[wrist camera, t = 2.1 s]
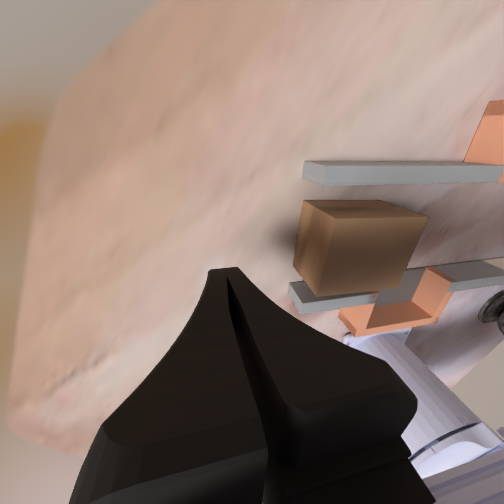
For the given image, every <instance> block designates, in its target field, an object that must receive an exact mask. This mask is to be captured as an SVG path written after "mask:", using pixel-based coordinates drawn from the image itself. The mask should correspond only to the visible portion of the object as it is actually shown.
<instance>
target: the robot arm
mask: <svg viewBox="0 0 504 504" xmlns="http://www.w3.org/2000/svg"><path fill="white" fill-rule="evenodd" d="M411 329H412V327H410V328H405V329H399V330H394V331H388V332H383V333H377V334H372V335H367V336H361V337H356V338H355V337H354V336H353V335H352V334H347V335H346V336H345V337H344V339H343V342H342V343H341V342H339V341H337V340H335V339H333V338H331V337H329V336H327V335H325V334H323V333H321V332H319V331H317V330H315V329H313V328H312V327H310V326H308V325H306V324H305V323H303V322H301V321H300V320H298V319H296V318H295V317H293V316H292V315H290V314H289V313H288V312H286V311H285V310H283V309H282V308H280V307H279V306H278V305H276V304H275V303H274V302H273V301H272V300H270V299H269V298H268V297H267V296H266V295H265V294H264V293H262V292H261V291H260V290H259V289H258V288H257V287H256V286H255V285H254V284H253V283H252V282H251V281H250V280H249V279H248V278H247V277H246V275H245V274H244V273H243V272H242V271H241V270H240V269H239V268H238V267H231V268H221V269H211V270H209V271H208V277H207V281H206V284H205V287H204V290H203V292H202V295H201V297H200V300H199V302H198V304H197V306H196V308H195V310H194V312H193V314H192V316H191V317H190V319H189V321H188V322H187V324H186V326H185V327H184V329H183V330H182V332H181V334H180V335H179V336H178V338H177V339H176V341H175V342H174V344H173V345H172V346H171V348H170V349H169V350H168V352H167V353H166V354H165V356H164V357H163V358H162V359H161V361H160V362H159V363H158V364H157V365H156V366H155V368H154V369H153V370H152V371H151V372H150V374H149V375H148V376H147V377H146V378H145V379H144V381H143V382H142V383H141V384H140V385H139V386H138V387H137V388H136V389H135V391H134V392H133V393H132V394H131V395H130V396H129V397H128V398H127V399H126V400H125V401H124V402H123V403H122V404H121V405H120V406H119V407H118V408H117V409H116V410H115V411H114V412H113V413H112V414H111V415H110V416H109V417H108V418H107V419H106V420H105V421H104V422H103V423H102V424H101V426H100V428H99V430H98V432H97V434H96V437H95V439H94V441H93V443H92V445H91V447H90V449H89V452H88V454H87V456H86V458H85V461H84V463H83V465H82V467H81V470H80V472H79V475H78V478H77V480H76V484H75V486H74V489H73V492H72V495H71V498H70V501H69V504H262V503H263V504H504V441H503V440H502V439H501V438H500V437H499V436H498V435H497V434H496V433H495V432H494V431H493V430H492V429H491V428H490V427H489V426H488V425H486V424H485V423H484V422H482V421H481V420H480V419H479V418H478V417H477V416H476V415H475V414H474V413H473V412H472V411H471V410H470V409H469V408H468V407H467V406H466V405H465V404H464V403H463V402H462V401H461V400H460V399H459V398H458V397H457V396H456V395H455V394H454V393H453V392H452V391H451V390H450V389H449V388H448V387H447V386H446V385H445V384H444V383H443V382H442V381H441V380H440V379H439V378H438V377H437V376H436V375H435V374H434V373H433V372H432V371H431V370H430V369H429V368H428V367H427V366H426V365H425V364H424V363H423V362H422V361H421V360H420V359H419V358H418V357H417V356H416V355H415V354H414V353H413V352H412V351H411V350H410V349H409V348H408V347H407V346H406V345H405V344H404V343H405V341H406V339H407V337H408V335H409V333H410V331H411ZM497 432H498V433H499V434H500V435H501V436H502V437H503V438H504V427H500V428H499V429H498V430H497Z"/></svg>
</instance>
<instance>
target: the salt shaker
mask: <svg viewBox="0 0 504 504" xmlns="http://www.w3.org/2000/svg"><path fill="white" fill-rule="evenodd" d="M478 319H479V320H480V321H481V322H484V323H486V322H494V321H497V320H498V327H499V330H500V331H501V332H502V333H503V335H504V290H502V291H500V292H499V293H497V294H495V295H494V296H493V297H492V298H490V299H489V300H488V301H487V302H486V303H485V305H484V306H483V307H482V308H481V310H480V312H479V315H478Z"/></svg>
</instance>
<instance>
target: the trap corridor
mask: <svg viewBox="0 0 504 504" xmlns="http://www.w3.org/2000/svg"><path fill="white" fill-rule="evenodd" d="M302 178H303V179H306V180H308V181H311V182H313V183H316V184H319V185H321V186H341V185H388V184H434V183H481V182H504V100H499V101H491V102H489V104H488V106H487V109H486V111H485V113H484V116H483V118H482V120H481V122H480V125H479V127H478V129H477V132H476V134H475V136H474V139H473V141H472V143H471V145H470V148H469V150H468V152H467V155H466V157H465V159H464V162H412V161H304V169H303V177H302ZM500 284H504V258H498V259H489V260H481V261H472V262H464V263H455V264H447V265H438V266H430V267H421V268H413V269H406V270H405V272H404V274H403V277H402V279H401V281H400V284H399V286H398V288H395V289H386V290H377V291H368V292H359V293H349V294H340V295H331V296H322V297H316V295H315V294H314V293H313V291H312V290H311V289H310V287H309V286H308V285H307V284H306V282H305V281H302V282H293V283H289V291H288V294H289V295H290V297H291V299H292V300H293V302H294V304H295V305H296V307H297V309H298V311H299V312H300V314H307V313H314V312H320V311H327V310H334V309H340V312H339V316H338V317H339V318H340V320H341V321H342V322H343V323H344V325H345V326H346V327H347V328H348V330H349V331H350V332H351V333H352V335H353V336H354V337H355V338H356V337H361V336H367V335H372V334H377V333H383V332H388V331H394V330H399V329H405V328H410V327H415V326H421V325H426V324H432V323H437V321H438V319H439V317H440V315H441V314H442V312H443V310H444V308H445V306H446V305H447V303H448V301H449V299H450V297H451V296H452V294H453V292H454V291H460V290H467V289H473V288H480V287H486V286H493V285H500Z"/></svg>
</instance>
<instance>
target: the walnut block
mask: <svg viewBox="0 0 504 504" xmlns="http://www.w3.org/2000/svg"><path fill="white" fill-rule="evenodd" d="M427 220H428V217H427V216H425V215H422V214H419V213H416V212H413V211H410V210H407V209H404V208H401V207H398V206H395V205H392V204H389V203H386V202H383V201H380V200H303V205H302V211H301V217H300V223H299V229H298V236H297V242H296V248H295V254H294V260H293V266H294V268H295V269H296V270H297V272H298V273H299V274H300V276H301V277H302V278H303V280H304V281H305V282H306V284H307V285H308V286H309V287H310V289H311V290H312V291H313V293H314V294H315V295H316V297H322V296H331V295H340V294H349V293H359V292H368V291H377V290H386V289H395V288H398V286H399V284H400V281H401V279H402V277H403V274H404V272H405V270H406V268H407V265H408V263H409V261H410V258H411V256H412V254H413V252H414V249H415V247H416V245H417V243H418V240H419V238H420V236H421V233H422V231H423V229H424V227H425V224H426V222H427Z"/></svg>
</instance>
